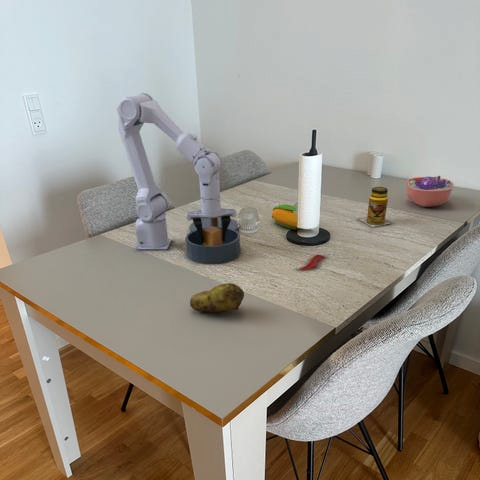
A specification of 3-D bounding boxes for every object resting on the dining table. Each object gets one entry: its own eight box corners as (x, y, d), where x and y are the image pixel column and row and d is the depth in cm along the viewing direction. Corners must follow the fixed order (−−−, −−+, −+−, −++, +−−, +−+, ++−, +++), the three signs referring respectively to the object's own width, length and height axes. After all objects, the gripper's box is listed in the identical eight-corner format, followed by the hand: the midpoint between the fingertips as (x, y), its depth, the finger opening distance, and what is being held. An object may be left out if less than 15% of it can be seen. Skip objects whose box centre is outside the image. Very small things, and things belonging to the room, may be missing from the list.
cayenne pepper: (304, 272, 131) (304, 266, 130) (292, 267, 134) (292, 261, 133) (332, 260, 137) (333, 254, 136) (321, 255, 141) (321, 249, 140)
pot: (183, 263, 138) (181, 246, 135) (191, 242, 152) (190, 226, 149) (238, 264, 137) (237, 246, 134) (241, 242, 151) (241, 226, 148)
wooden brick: (213, 248, 141) (212, 233, 138) (203, 245, 143) (202, 229, 141) (222, 245, 143) (222, 229, 140) (212, 241, 146) (211, 226, 143)
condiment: (373, 227, 159) (377, 192, 153) (358, 219, 166) (362, 186, 160) (390, 224, 162) (395, 189, 156) (375, 216, 168) (379, 183, 162)
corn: (280, 197, 165) (325, 210, 152) (281, 218, 169) (325, 232, 156) (266, 204, 161) (311, 217, 148) (267, 224, 165) (310, 239, 153)
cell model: (454, 200, 182) (461, 171, 176) (443, 215, 168) (449, 184, 162) (410, 194, 190) (415, 166, 184) (396, 208, 175) (400, 178, 170)
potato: (206, 298, 120) (204, 270, 115) (249, 311, 114) (248, 282, 109) (186, 313, 114) (183, 283, 110) (230, 327, 108) (229, 297, 104)
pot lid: (191, 239, 154) (190, 226, 152) (188, 221, 169) (187, 209, 167) (242, 235, 156) (242, 222, 154) (235, 218, 171) (235, 206, 168)
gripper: (233, 191, 140) (234, 234, 147) (184, 194, 138) (188, 237, 145) (236, 198, 134) (237, 242, 141) (186, 201, 132) (189, 246, 139)
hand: (212, 240), depth 142 cm, fingers closed on wooden brick, 6 cm apart
